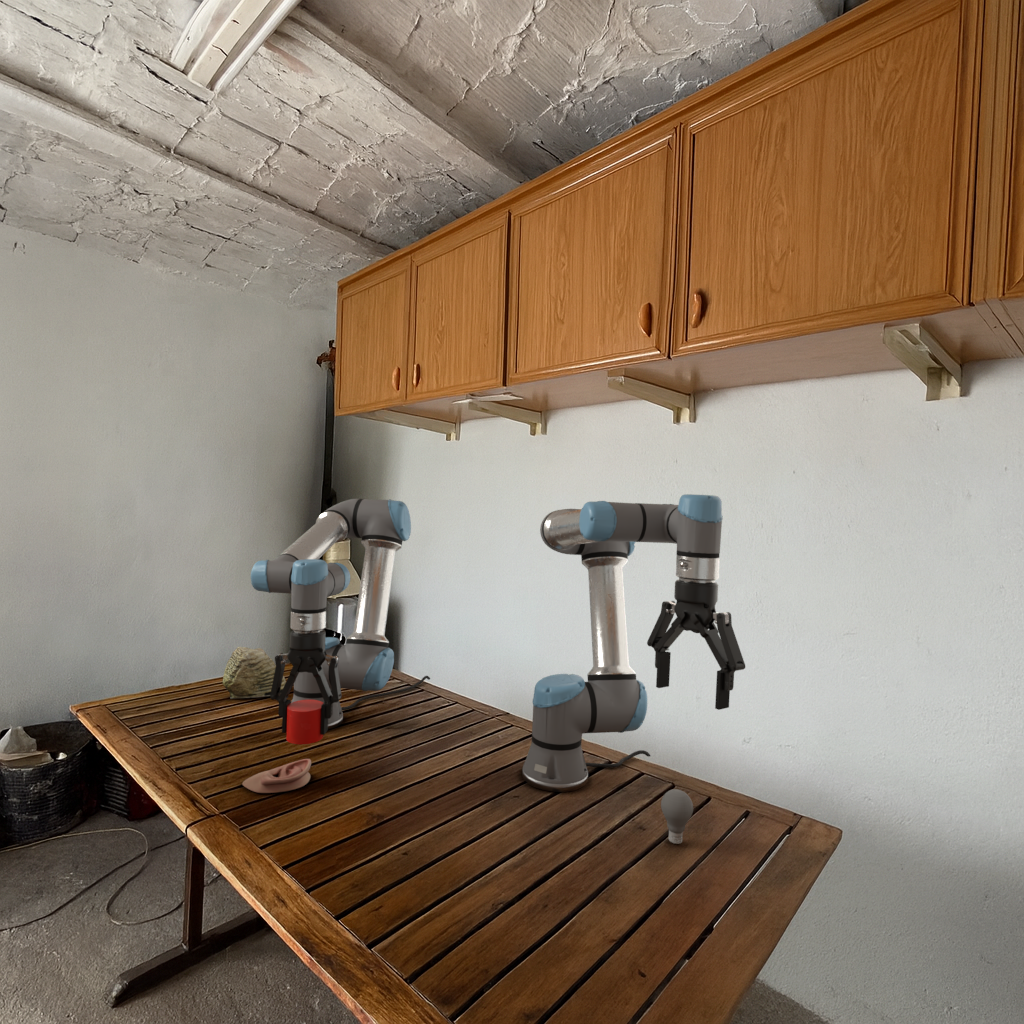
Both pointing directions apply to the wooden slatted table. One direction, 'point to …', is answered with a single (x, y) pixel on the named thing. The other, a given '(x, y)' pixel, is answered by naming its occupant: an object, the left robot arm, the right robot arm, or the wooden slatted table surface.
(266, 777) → the anatomical model
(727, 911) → the wooden slatted table surface
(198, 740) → the wooden slatted table surface
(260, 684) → the fossil
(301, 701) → the can
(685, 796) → the light bulb
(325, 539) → the left robot arm
